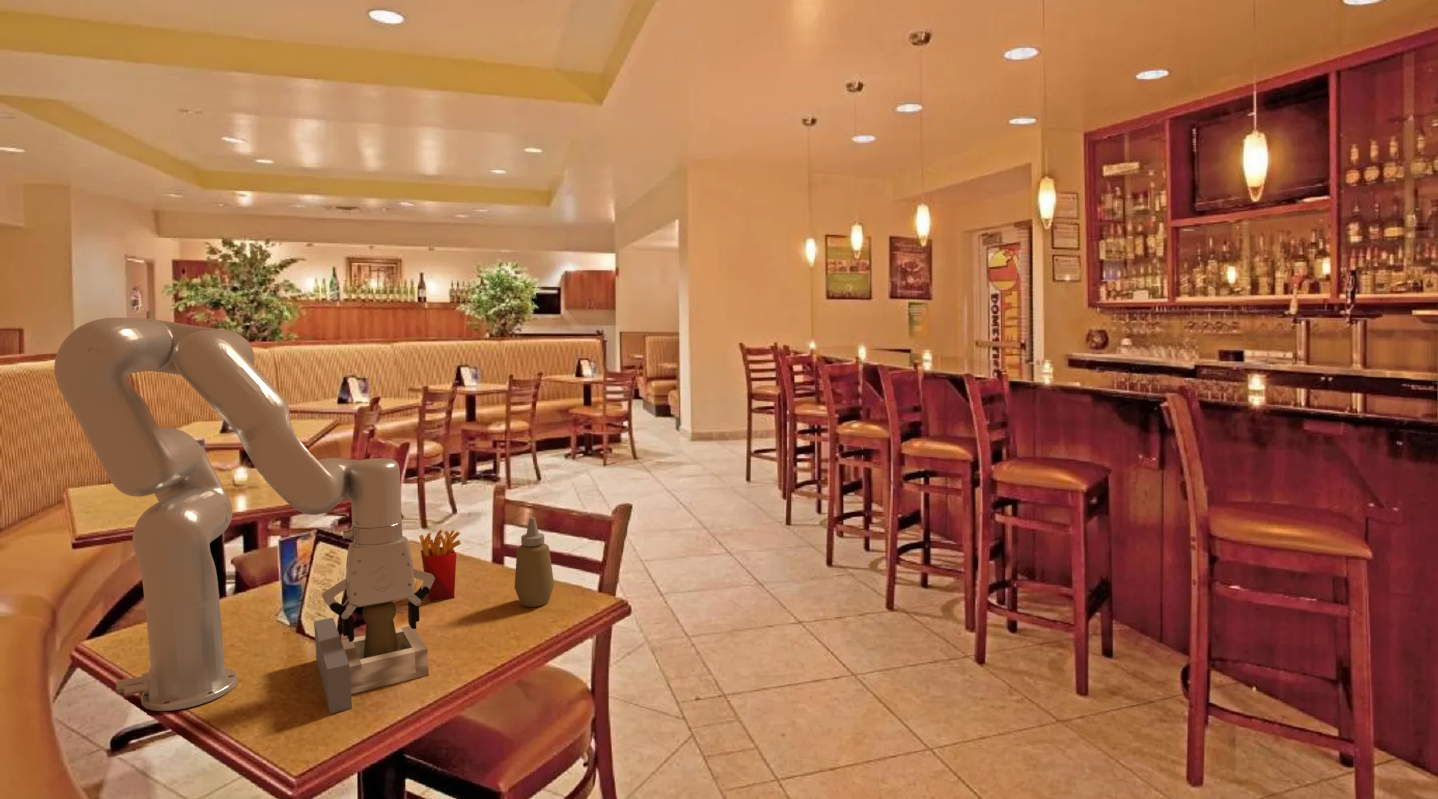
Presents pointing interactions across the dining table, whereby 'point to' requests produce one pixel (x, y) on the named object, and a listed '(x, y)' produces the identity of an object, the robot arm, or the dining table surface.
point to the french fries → (440, 563)
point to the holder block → (386, 661)
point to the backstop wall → (332, 665)
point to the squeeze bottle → (533, 568)
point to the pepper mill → (380, 629)
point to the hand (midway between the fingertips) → (382, 632)
